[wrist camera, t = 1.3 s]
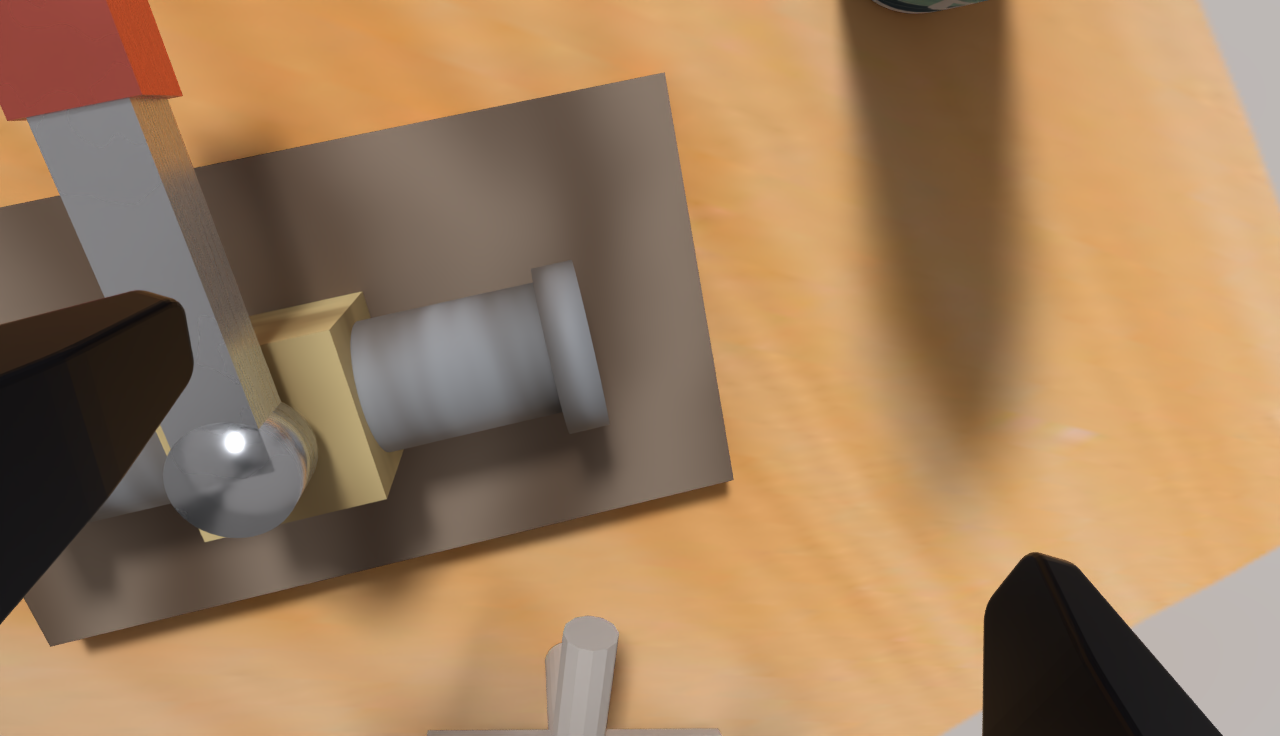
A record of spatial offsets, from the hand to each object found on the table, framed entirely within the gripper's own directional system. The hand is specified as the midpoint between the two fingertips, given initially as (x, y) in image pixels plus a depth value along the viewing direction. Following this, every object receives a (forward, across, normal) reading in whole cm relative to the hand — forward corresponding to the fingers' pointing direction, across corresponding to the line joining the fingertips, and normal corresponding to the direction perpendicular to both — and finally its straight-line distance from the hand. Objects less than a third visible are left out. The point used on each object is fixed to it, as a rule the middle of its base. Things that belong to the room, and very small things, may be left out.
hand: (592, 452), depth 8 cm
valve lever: (+9, +12, +5) cm, 15 cm away
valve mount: (+13, +11, +12) cm, 21 cm away
